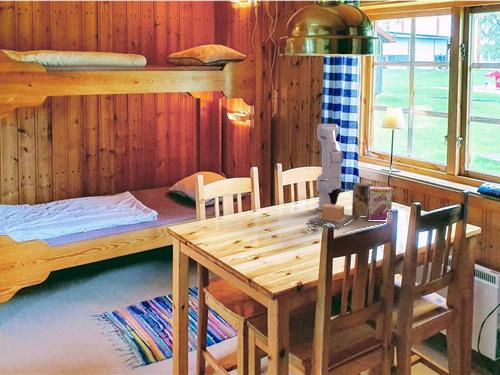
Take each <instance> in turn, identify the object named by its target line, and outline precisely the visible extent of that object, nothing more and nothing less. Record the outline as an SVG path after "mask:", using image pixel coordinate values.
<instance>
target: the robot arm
mask: <svg viewBox="0 0 500 375" xmlns="http://www.w3.org/2000/svg"><path fill="white" fill-rule="evenodd" d="M316 134H317V135H316V138H317V141H319V142H320V145H321V146H320V147H321V173H320V174H319V175H318V176H317V178H316V183H315V185H316V192H318V206H317V207H315V210H316V209H317V210H318V211H321V210H322V206H323V205H324V204H330V205H336V204H337V203H338V198H339V196H340V193H341V191H342V188H341V187H342V182H341V177H342V164H343V162H344V153H343V151H342V150H341V149H340V146H339V144H340V143H339V142H338V141H337V140H336V139H337V136H338V134H339V125H338V124H337V123H318V124H317V128H316Z"/></svg>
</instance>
